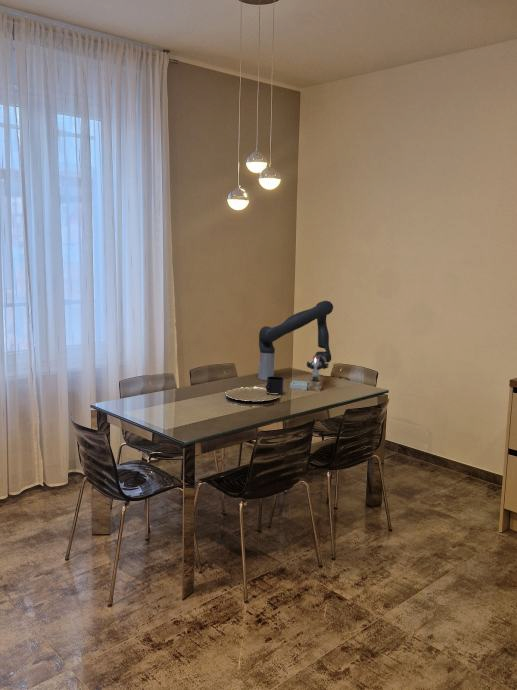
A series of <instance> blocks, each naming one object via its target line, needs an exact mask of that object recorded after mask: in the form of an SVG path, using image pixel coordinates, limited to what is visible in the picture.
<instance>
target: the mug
mask: <svg viewBox="0 0 517 690" xmlns="http://www.w3.org/2000/svg"><path fill="white" fill-rule="evenodd" d="M265 389H266V393H267V392H269V393H278V394H281V395H283V394H284V377H281V376H276V375H275V376H270V377H267V380H266V385H265Z"/></svg>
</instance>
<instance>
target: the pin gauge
mask: <svg viewBox="0 0 517 690" xmlns="http://www.w3.org/2000/svg"><path fill="white" fill-rule="evenodd" d="M312 358H313V359H312V362H313V369H312V377H311V379H312V381H314V382H317V381H318V380H319V376H320V375H319V372H320V370H318V366H319V356H315V355H313V357H312Z"/></svg>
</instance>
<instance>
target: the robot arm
mask: <svg viewBox="0 0 517 690" xmlns="http://www.w3.org/2000/svg"><path fill="white" fill-rule="evenodd" d="M333 310H334V305H333V303H332V301H328V300H322V301H320V302H317V304H316V305H315V306H314V307H312V308H308V309H305V310H301V311H299V312H296V313H294V314H292V315H291V316H288V317H287V318H286V320H284V321H283V322H282V323H280V324H278V325H276V326H273V327H271V326H266V325H265V326H263V327H261V329H260V330H259V334H258V346H259V347H258V348H259V363H258V373H257V374H258V375H257V379H258V380H261V381H267V377H270V376H274V375H275V371H274V370H275V353H276V350H275V347H274V342H275V341H277V340H278V339H280V338H282V337H283V336H285V335H287V334H290V333H291V332H294V331H296V330H299V329H301V328H303V327H304V326H306V325H309V324H310V323H312V322H313V321H315V320H316V322H317V324H316V325H317V347H318V348H320V349H324V351H317V352H315V354H314V356H319V366H318V370H319V371H320V370H322V369H323V370H325V369H328V368H329V363H330V362H331V361H332V353H331V350H330V349H331V348H330V344H329V343H330V335H329V330H328V326H327V316H328V315H330V314H331V313H332V312H333ZM306 367H307V368H309V369H310V370H313V361H311V362H309V361H306Z"/></svg>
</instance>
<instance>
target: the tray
mask: <svg viewBox="0 0 517 690" xmlns="http://www.w3.org/2000/svg"><path fill="white" fill-rule="evenodd" d="M289 389H290V390H298V389H301V390H302V391H308V390H307V381H303V380H302V381H301V380H292V381H291V382H290V384H289ZM301 390H300V391H301Z"/></svg>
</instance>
